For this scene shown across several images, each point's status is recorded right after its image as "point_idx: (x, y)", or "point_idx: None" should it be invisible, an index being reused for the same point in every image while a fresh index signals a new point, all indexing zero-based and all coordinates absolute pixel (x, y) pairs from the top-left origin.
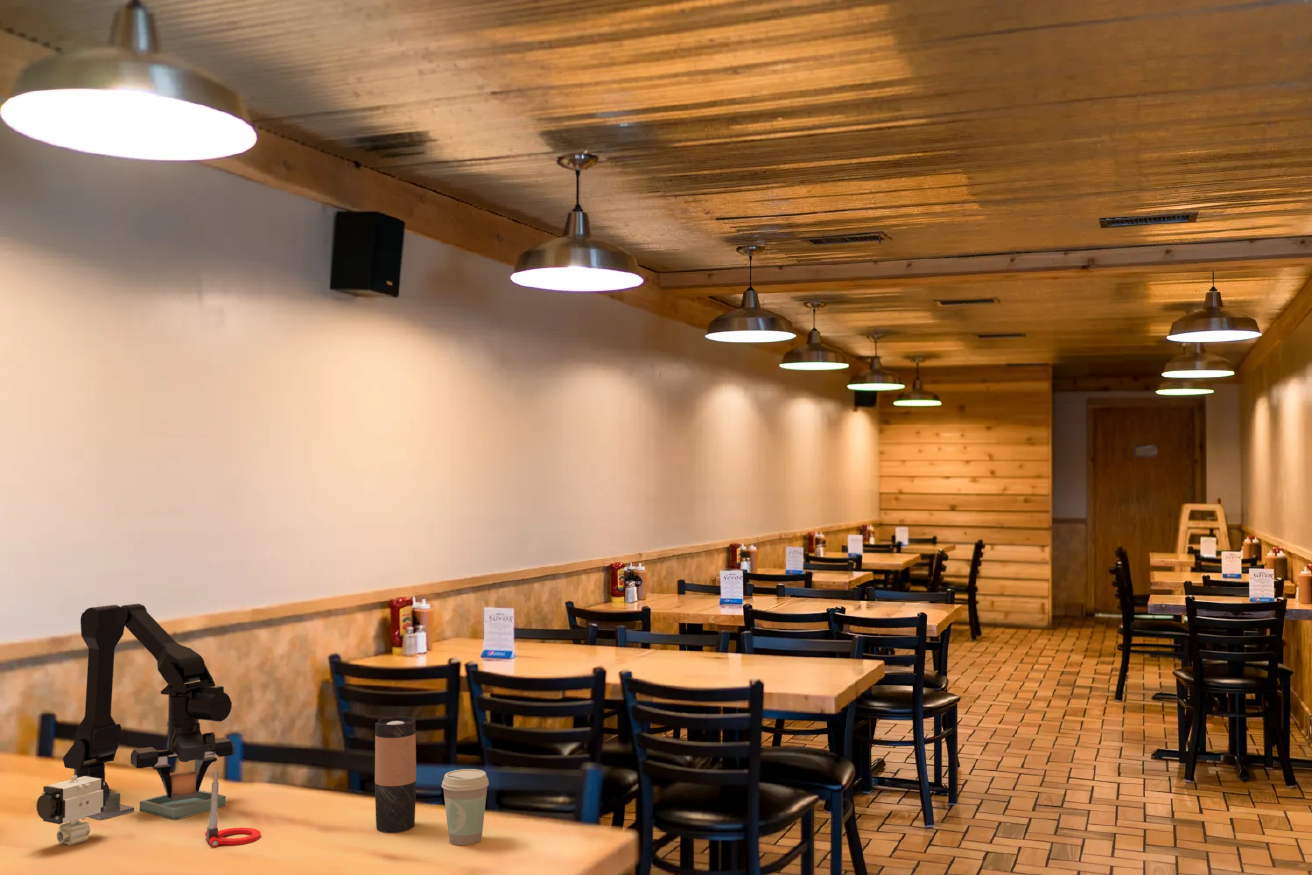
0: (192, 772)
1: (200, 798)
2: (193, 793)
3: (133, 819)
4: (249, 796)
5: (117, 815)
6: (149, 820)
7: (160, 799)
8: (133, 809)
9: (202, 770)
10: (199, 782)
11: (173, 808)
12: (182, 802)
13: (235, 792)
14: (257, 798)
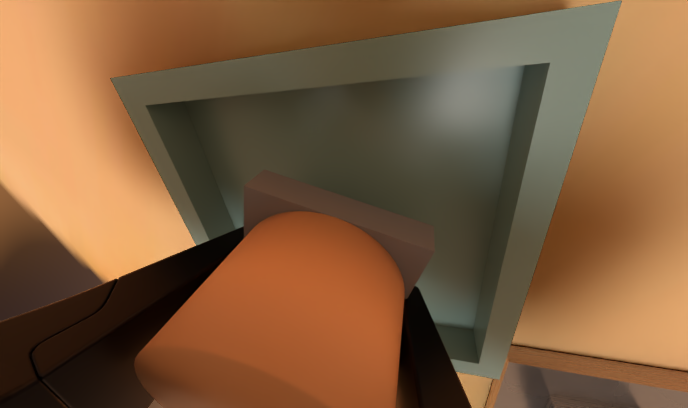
0: (167, 390)
1: None
2: (283, 196)
3: (646, 267)
4: (68, 137)
5: (601, 360)
6: (640, 173)
7: None
8: (510, 353)
9: (35, 344)
10: (186, 262)
11: (572, 65)
12: None
13: (122, 228)
14: (26, 70)
